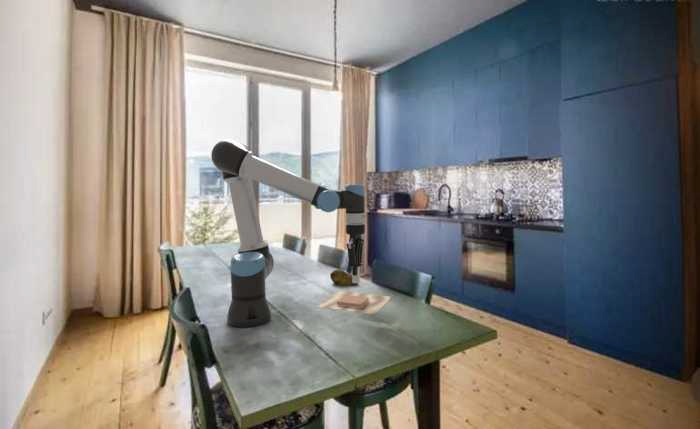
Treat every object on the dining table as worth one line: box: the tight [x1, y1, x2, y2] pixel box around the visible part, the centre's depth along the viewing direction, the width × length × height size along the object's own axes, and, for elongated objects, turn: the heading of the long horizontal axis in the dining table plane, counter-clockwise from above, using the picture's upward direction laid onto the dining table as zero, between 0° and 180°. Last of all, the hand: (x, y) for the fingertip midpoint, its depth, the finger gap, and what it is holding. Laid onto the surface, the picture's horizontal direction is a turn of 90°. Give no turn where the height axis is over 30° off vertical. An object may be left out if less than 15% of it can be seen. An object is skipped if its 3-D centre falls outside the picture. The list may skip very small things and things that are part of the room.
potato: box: [329, 269, 359, 287], centre depth 169 cm, size 8×13×8 cm, turn 63°
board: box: [315, 290, 392, 315], centre depth 143 cm, size 24×22×2 cm
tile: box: [337, 295, 369, 308], centre depth 141 cm, size 10×2×9 cm
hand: (355, 282), depth 142 cm, fingers closed
